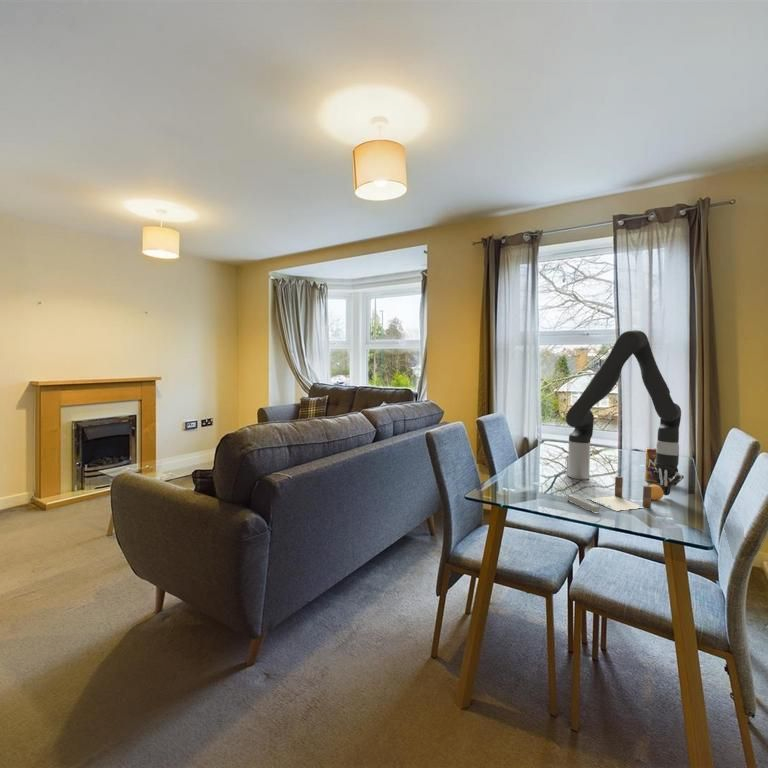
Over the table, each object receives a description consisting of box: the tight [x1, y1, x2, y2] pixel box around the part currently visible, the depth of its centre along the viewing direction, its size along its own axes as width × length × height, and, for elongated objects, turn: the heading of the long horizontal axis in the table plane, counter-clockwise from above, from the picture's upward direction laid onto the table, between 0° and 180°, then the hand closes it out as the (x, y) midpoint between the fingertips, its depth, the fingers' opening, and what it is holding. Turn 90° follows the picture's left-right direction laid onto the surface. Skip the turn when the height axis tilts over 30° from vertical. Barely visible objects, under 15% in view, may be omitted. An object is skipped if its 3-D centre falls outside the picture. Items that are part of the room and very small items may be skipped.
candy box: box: [644, 447, 658, 483], centre depth 189 cm, size 9×4×15 cm, turn 60°
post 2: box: [642, 485, 652, 509], centre depth 154 cm, size 3×3×8 cm
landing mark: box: [589, 495, 645, 512], centre depth 159 cm, size 14×14×1 cm
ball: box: [648, 484, 664, 501], centre depth 163 cm, size 6×6×6 cm
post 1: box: [614, 475, 624, 498], centre depth 167 cm, size 3×3×8 cm
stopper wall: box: [567, 494, 600, 513], centre depth 155 cm, size 14×2×2 cm, turn 15°
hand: (665, 494), depth 166 cm, fingers closed
